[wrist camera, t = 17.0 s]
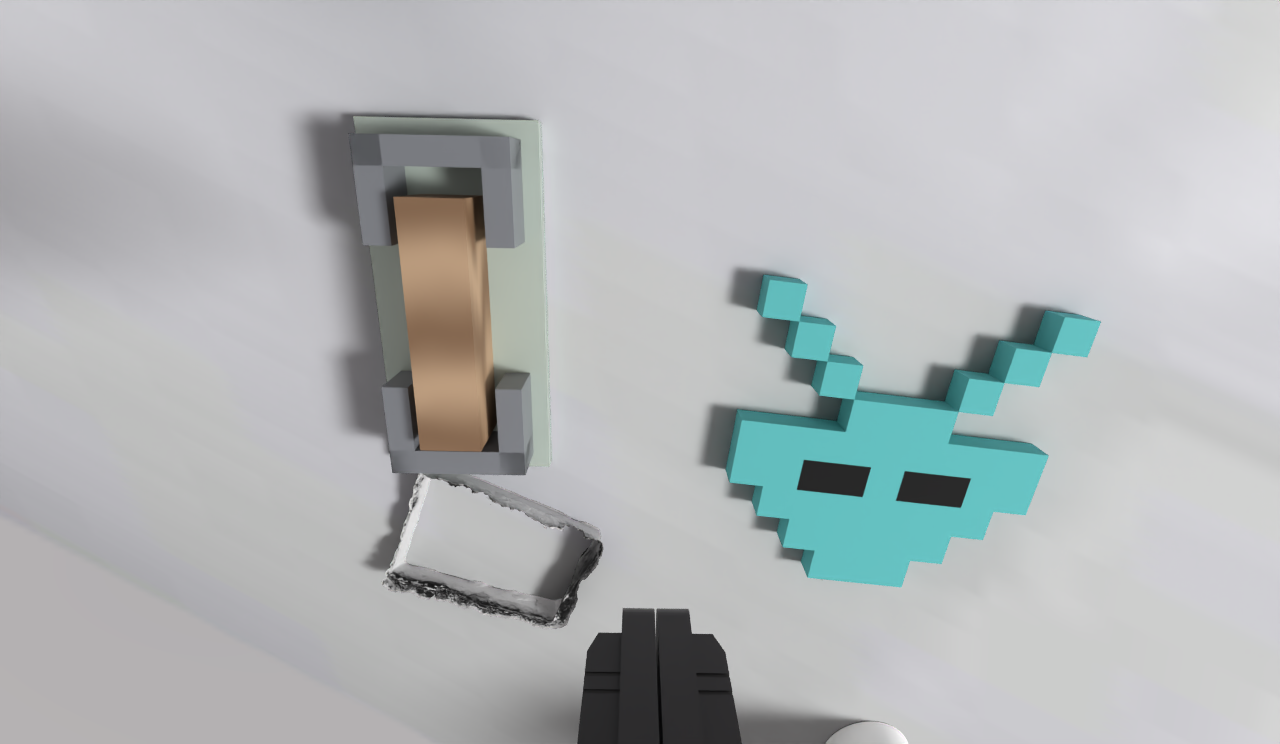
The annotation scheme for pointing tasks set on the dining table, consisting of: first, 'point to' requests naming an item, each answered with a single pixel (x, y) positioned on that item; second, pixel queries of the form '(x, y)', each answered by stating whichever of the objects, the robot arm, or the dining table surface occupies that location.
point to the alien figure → (888, 453)
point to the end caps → (502, 188)
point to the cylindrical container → (868, 734)
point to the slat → (448, 318)
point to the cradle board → (509, 269)
